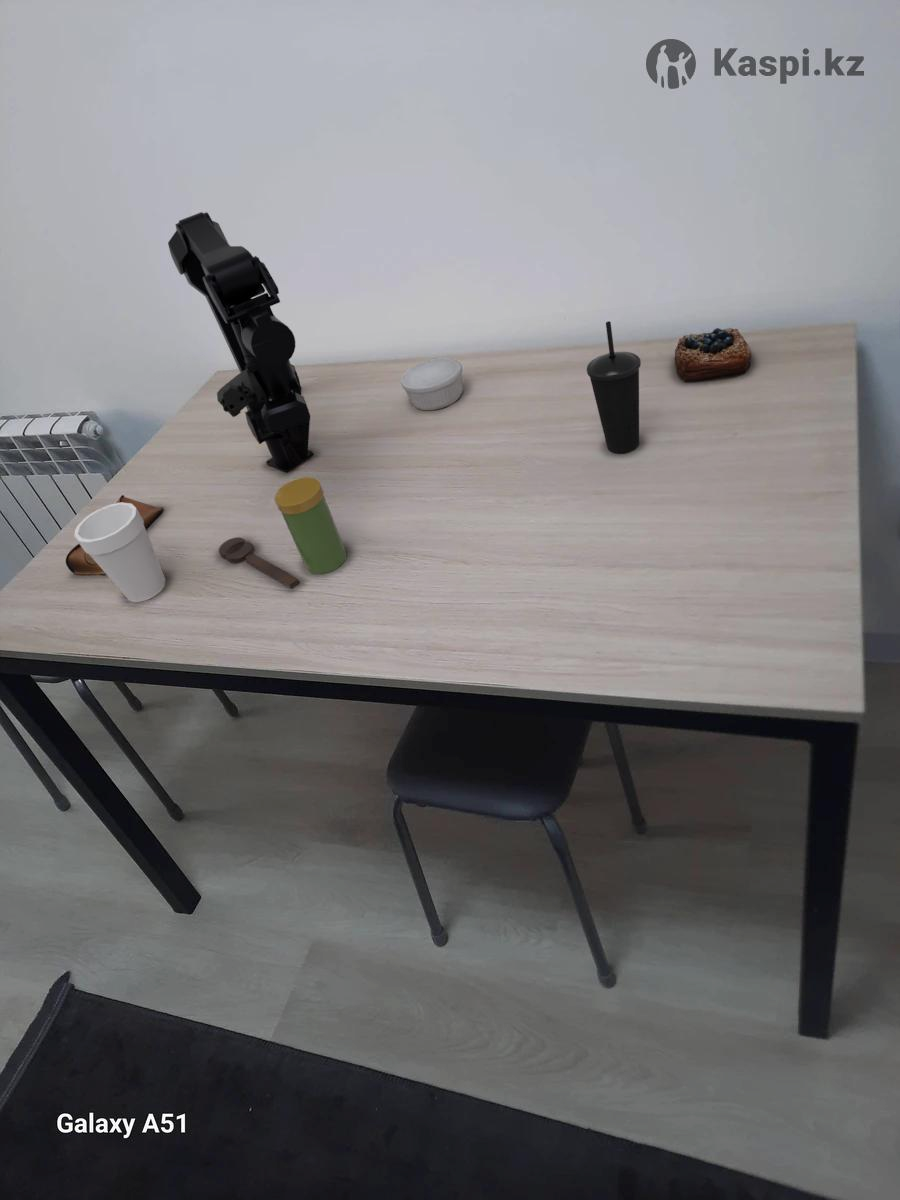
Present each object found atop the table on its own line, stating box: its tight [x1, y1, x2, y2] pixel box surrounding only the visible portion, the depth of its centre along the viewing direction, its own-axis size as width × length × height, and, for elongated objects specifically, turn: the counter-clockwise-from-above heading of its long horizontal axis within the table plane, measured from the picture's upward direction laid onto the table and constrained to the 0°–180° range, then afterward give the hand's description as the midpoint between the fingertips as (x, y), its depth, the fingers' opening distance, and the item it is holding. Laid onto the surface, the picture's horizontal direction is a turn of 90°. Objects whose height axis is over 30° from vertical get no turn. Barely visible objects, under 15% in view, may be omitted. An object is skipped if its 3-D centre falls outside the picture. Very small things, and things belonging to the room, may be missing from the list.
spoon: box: [218, 536, 301, 590], centre depth 130 cm, size 19×4×1 cm, turn 45°
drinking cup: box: [586, 321, 642, 455], centre depth 125 cm, size 8×8×20 cm
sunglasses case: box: [65, 494, 164, 576], centre depth 145 cm, size 18×7×7 cm, turn 164°
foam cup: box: [73, 502, 166, 603], centre depth 129 cm, size 10×9×13 cm
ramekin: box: [400, 357, 464, 411], centre depth 155 cm, size 11×11×5 cm
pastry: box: [674, 327, 752, 384], centre depth 141 cm, size 11×12×6 cm
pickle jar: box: [273, 477, 348, 575], centre depth 123 cm, size 7×7×12 cm
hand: (301, 447), depth 128 cm, fingers open, 9 cm apart
